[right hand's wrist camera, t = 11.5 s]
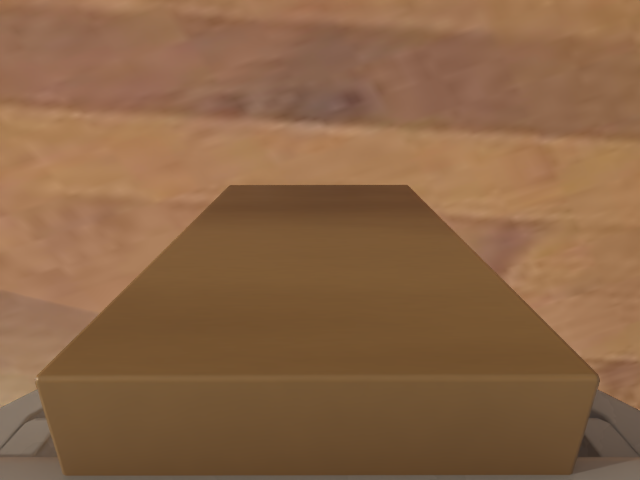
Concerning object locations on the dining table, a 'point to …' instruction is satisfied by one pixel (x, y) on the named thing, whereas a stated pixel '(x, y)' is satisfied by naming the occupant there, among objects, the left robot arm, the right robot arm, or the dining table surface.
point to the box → (317, 352)
